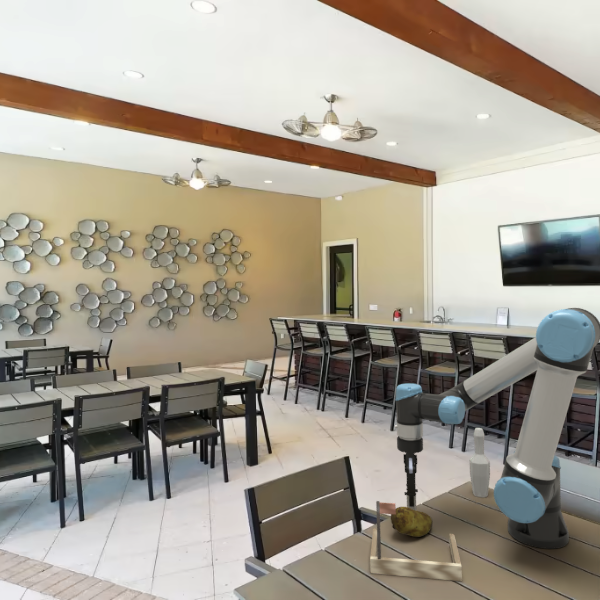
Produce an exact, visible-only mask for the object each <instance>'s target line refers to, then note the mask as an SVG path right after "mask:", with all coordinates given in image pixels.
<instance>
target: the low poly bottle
mask: <svg viewBox="0 0 600 600" xmlns="http://www.w3.org/2000/svg"><path fill="white" fill-rule="evenodd" d="M473 441H474V454H473V455H472V456H471V458H470V459H469V476H470V483H471V489H472V495H474V496H475V497H477V498H487V497H488V495H489V488H490V486H489V485H490V478H491V477H490V476H491V462H490V460H489V458H488V457H487V456H486V454H485V433H484V430H483V428H482V427H481V428H480V427H475V429H474V432H473Z"/></svg>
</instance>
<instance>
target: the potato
mask: <svg viewBox="0 0 600 600" xmlns="http://www.w3.org/2000/svg"><path fill="white" fill-rule="evenodd" d="M390 522H391V528H393V530H396V531H397V532H398V533H400V534H401V535H408V536H410V537H414V538H417V537H418V538H420V537H423V536H425V535H427V534H428V533H429V532H430V531H431V529H432V527H433V520H432V517H431V516H430V515H429V514H428V513H426V512H423V511H419V510H417V509H416V510H413V509H411V508H408V507H407V506H399V507H396V514H390Z"/></svg>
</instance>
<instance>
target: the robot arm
mask: <svg viewBox="0 0 600 600" xmlns="http://www.w3.org/2000/svg"><path fill="white" fill-rule="evenodd" d="M599 342H600V321H599V319H598V318H597V317H596V315H594V314H593V313H592V312H591V311H589V310H586V309H584V308H581V307H568V308H564V309H557V310H555V311H552V312H550V313H548V314H547V315H546V316H545V317H543V319H542V320H541V321H540V322H539V324H538V326H537V328H536V333H535V337H533V338H532V339H531V340H529V341H527V342H525V343H524V344H522V345H521V346H519V347H517V348H515V349H514V350H512V351H511V352H509V353H507V354H505V355H504V356H503V357H501V358H500V359H497V360H496V361H494V362H493V363H491V364H489V365H488V366H486V367H485V368H482V370H480V371H478V372H477V373H475V374H473V375H472V376H470V377H468V378H467V379H465V380H463V381H462V382H460V383H458V384H457V385H455V386H454V387H451V388H450V389H448V390H446V391H444V392H441V393H440V394H435V393H427V392H423V388H422V386H421V385H420V384H417V383H401V384H398V385H397V386H396V388H395V399H394V400H395V406H396V407H395V408H396V424H395V425H394V429H396V435H397V437H396V447H397V450H398V451H399V452H400V453H401V452H402V453H403V464H404V473H405V474H406V484H405V486H406V489H405V490H406V491H405V492H404V496H406V507H408V508H411V509H413V510H416V511H417V493H418V492H419V491H418V490H419V489H418V488H416V474H417V473H418V470H417V468H418V466H417V465H418V453H421V452H423V450H424V439H423V436H424V430H423V429H424V428H423V427H424V423H423V420H426V421H432V422H437V423H442V424H447V425H458V424H459V425H460V424H461V423H462V422H463V420H464V418H465V413H466V411H468V410H470V409H471V408H473V407H474V406H477V405H478V404H480V403H482V402H484V401H485V400H487V399H489V398H490V397H491V396H494V395H496V394H498V393H499V392H501V391H502V390H504V389H506V388H508V387H510V386H511V385H513V384H515V383H518V382H519V381H520V380H522V379H524V378H525V377H527V376H529V375H531V374H533V373H535V372H536V373H535V377H534V380H533V384H532V388H531V391H530V395H529V400H528V403H527V407H526V411H525V413H524V414H525V415H524V417H523V421H522V425H521V428H520V432H519V436H518V440H517V443H516V446H515V449H514V451H513V453H511V454H508V455H507V456H506V458H505V462H504V466H503V469H502V473H501V476H500V478H499V479H498V480H497V481H496V483H495V486H494V487H493V497H494V498H493V500H494V502H495V505H497V507H498V508H499V510H500V512H502V513H503V515H505V516H506V517H507V518H508V521H507V531H508V533H509V535H510V536H511V537H512V538H513V539H515V540H516V541H518V542H520V543H522V544H525V545H527V546H531V547H535V548H538V549H539V548H540V549H553V550H554V549H559V548H564V547H565V546H567V545H568V543H569V541H570V539H569V537H570V536H569V530H568V526H567V524H566V521H565V518H564V516H563V513H562V507H561V506H562V505H561V500H562V499H561V498H562V496H561V468H562V467H561V463H560V458H559V457H558V456H557V455H556V452H557V447H558V445H559V441H560V438H561V434H562V431H563V427H564V424H565V420H566V417H567V413H568V410H569V407H570V403H571V400H572V396H573V393H574V390H575V386H576V382H577V378H578V377H579V376H581V375H583V374H585V373H587V371H588V368H589V364H590V361H591V359H592V354H593V350H594V348H595V347H596V346H597V344H599Z"/></svg>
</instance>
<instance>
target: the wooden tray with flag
mask: <svg viewBox="0 0 600 600" xmlns="http://www.w3.org/2000/svg"><path fill="white" fill-rule="evenodd" d="M375 503H376V504H375V506H376V508H375V509H376V528H372V537H371V546H370V548H371V549H370V558H369V560H370V561H369V562H370V563H369V566H370V568H369V569H370V574H378V575H379V574H380V575H387V576H388V575H389V576H399V577H400V576H401V577H409V578H421V579H432V580H434V579H435V580H443V581H444V580H445V581H455V582H463V570H462V569H463V568H462V563H461V558H460V554H459V550H458V546H457V545H458V544H457V541H456V536H455V534H453V533H449V550H450V555H451V560H452V562H443V561H431V560H420V559H409V558H397V557H396V558H394V557H385V556H383V557H382V543H381V515H382V514H384V515H391V514H396V508H397V507H396V505H397V504H396V502H395V503H393V502H380V500H376V502H375Z"/></svg>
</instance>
